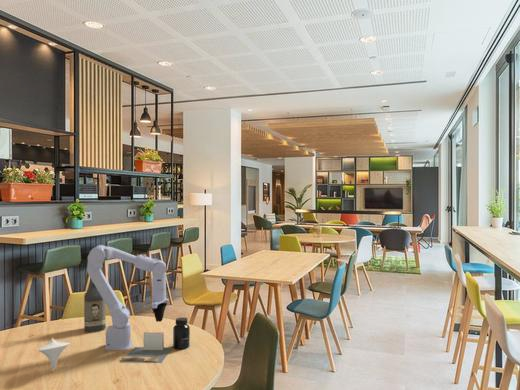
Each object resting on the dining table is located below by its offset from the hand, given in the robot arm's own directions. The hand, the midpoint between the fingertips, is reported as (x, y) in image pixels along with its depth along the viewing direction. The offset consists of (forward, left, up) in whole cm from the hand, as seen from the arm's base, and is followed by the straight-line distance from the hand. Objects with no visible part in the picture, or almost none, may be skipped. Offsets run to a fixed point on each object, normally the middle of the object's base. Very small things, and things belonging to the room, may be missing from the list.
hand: (159, 320), depth 175 cm
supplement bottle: (+10, -4, -10) cm, 15 cm away
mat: (-1, -13, -10) cm, 16 cm away
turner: (-2, -19, -10) cm, 21 cm away
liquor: (-37, +19, -10) cm, 43 cm away
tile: (0, -8, -10) cm, 12 cm away
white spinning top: (-30, -29, -10) cm, 43 cm away
